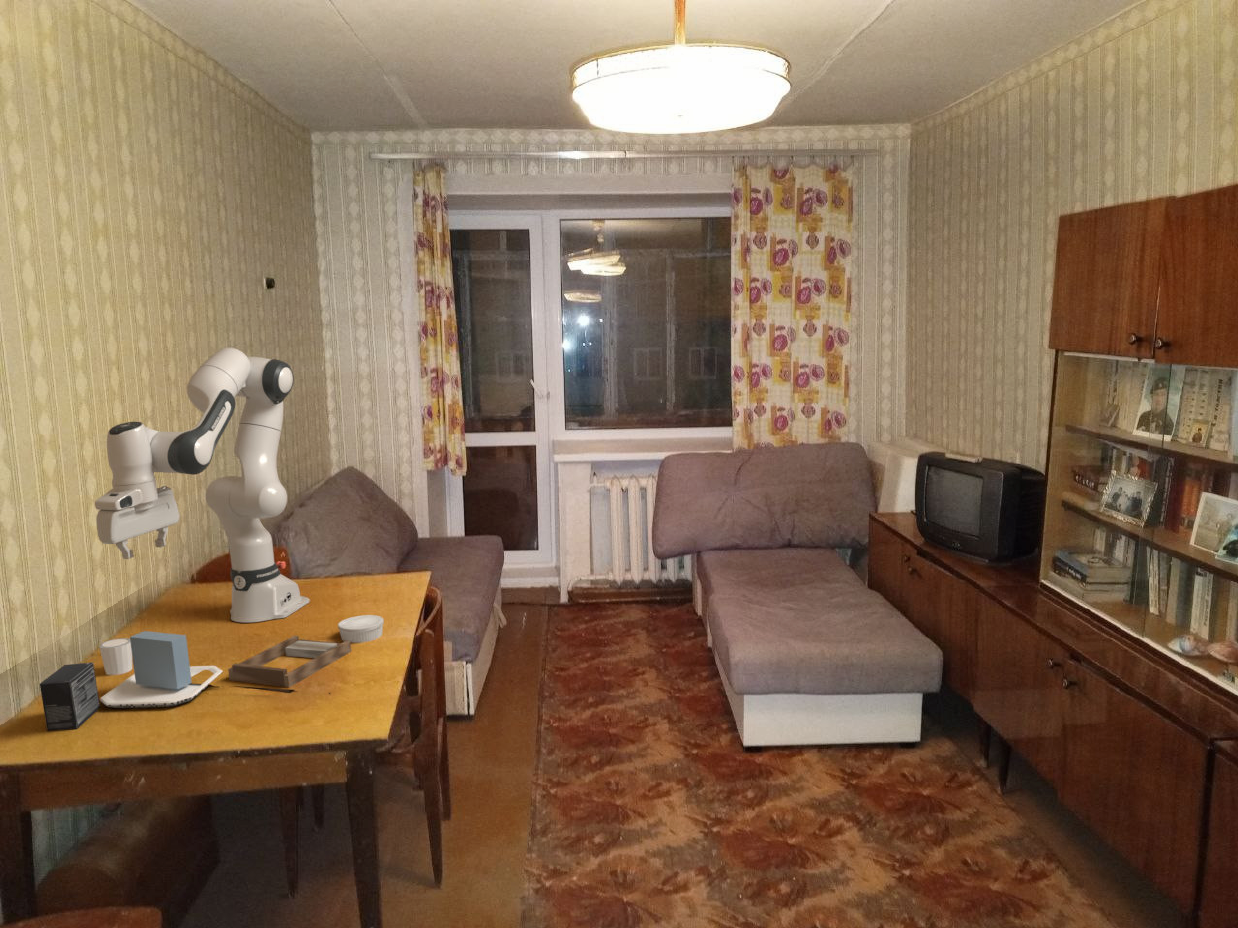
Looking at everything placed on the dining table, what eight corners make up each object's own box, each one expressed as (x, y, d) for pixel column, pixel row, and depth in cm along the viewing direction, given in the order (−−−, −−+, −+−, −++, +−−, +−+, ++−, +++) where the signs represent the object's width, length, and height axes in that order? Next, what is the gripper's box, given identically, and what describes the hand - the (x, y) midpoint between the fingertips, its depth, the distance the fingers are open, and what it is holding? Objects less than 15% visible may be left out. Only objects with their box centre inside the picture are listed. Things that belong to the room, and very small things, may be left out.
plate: (143, 676, 220) (142, 667, 220) (229, 673, 219) (228, 664, 219) (92, 713, 200) (90, 703, 199) (187, 711, 199) (186, 701, 199)
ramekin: (352, 633, 244) (350, 613, 243) (392, 634, 241) (391, 614, 240) (331, 648, 233) (329, 628, 232) (373, 650, 230) (371, 629, 230)
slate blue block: (150, 677, 213) (144, 630, 211) (191, 682, 209) (185, 635, 207) (136, 684, 210) (129, 636, 208) (177, 689, 205) (171, 641, 204)
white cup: (141, 666, 225) (138, 638, 224) (118, 677, 219) (114, 648, 218) (119, 664, 228) (116, 636, 226) (95, 674, 221) (92, 646, 220)
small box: (70, 710, 201) (63, 663, 199) (101, 707, 202) (95, 661, 200) (44, 731, 191) (37, 682, 189) (77, 729, 191) (71, 680, 190)
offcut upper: (299, 648, 229) (298, 640, 229) (337, 651, 226) (337, 643, 226) (286, 655, 225) (285, 647, 224) (325, 659, 221) (324, 650, 221)
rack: (297, 650, 232) (295, 630, 231) (353, 656, 226) (351, 636, 226) (230, 685, 211) (227, 664, 210) (289, 693, 205) (287, 671, 204)
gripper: (160, 483, 225) (169, 539, 227) (87, 503, 206) (97, 564, 209) (181, 484, 223) (189, 540, 225) (109, 504, 204) (119, 565, 206)
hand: (144, 552), depth 217 cm, fingers open, 8 cm apart
